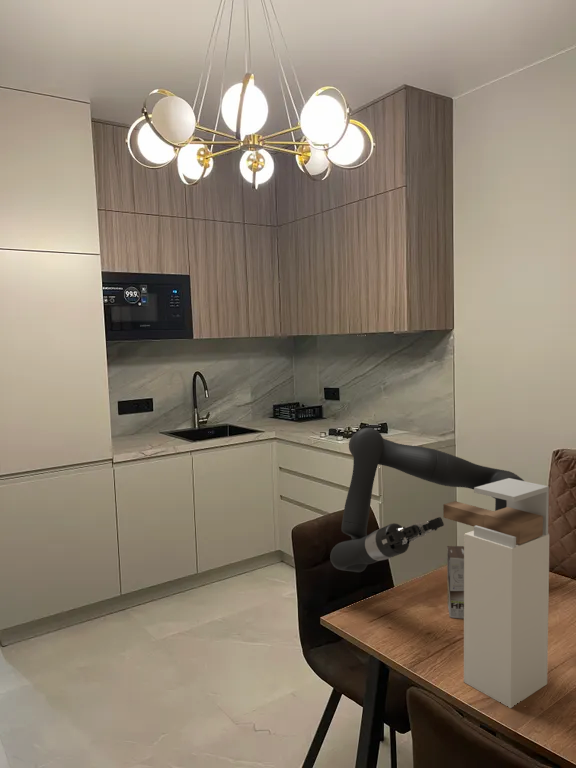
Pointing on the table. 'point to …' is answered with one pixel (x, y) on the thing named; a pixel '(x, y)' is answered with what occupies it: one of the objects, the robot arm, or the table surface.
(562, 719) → the table surface
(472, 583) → the stand
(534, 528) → the wooden plank block
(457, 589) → the coffee box
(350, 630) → the table surface
